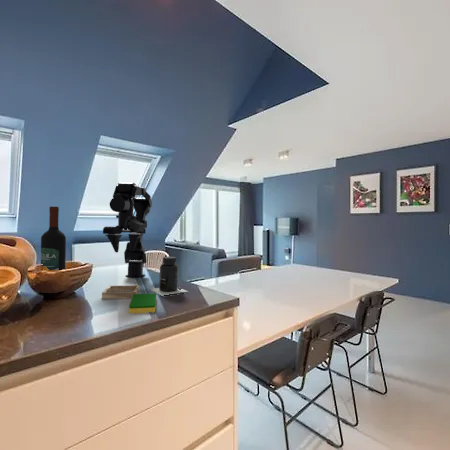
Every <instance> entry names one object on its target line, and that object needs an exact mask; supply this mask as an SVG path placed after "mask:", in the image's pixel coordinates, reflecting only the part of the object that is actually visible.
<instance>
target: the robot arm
mask: <svg viewBox="0 0 450 450" xmlns="http://www.w3.org/2000/svg"><path fill="white" fill-rule="evenodd" d="M137 196H143V197H137ZM152 205H153V200H152V197H151V195H150V194H149V193H148V192H147V191H146V188H145V187H144V186H138V185H137V184H136V183H134V182H123V181H122V182H121V181H120V182H118V183H117V185H116V186H115V189H114V192H113V194H112V198H111V199H110V202H109V208H110V209H111V210H112V211H113V212H116V213H117V215H115V218H116V219H118V221H117V225H115V226H104V227H103V229H102V234H104V235H105V237H107V238H108V239H107V240H109V243H110V244H111V246H112V248H113V251H114V253H118V252H119V249H120V239H121V237H122V236H123V233H128V240H129V242H127V243H126V247H125V250H124V252H123V255H124V256H123V257H124V264H128V265H127V274H126V275H125V277H128V278H141V277H145V276H146V274H144V271H143V270H144V264H147V261H148V260H147V255H146V252H145V246H144V245H143V242H142V241H143V236H144V234H146V229H147V228H148V221H147V220H146V217H147V215H148V214H149V213H150V212H151V208H152ZM134 211H135V215H134Z"/></svg>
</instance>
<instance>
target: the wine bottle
mask: <svg viewBox="0 0 450 450" xmlns="http://www.w3.org/2000/svg"><path fill="white" fill-rule="evenodd" d="M48 209H49V210H48V211H49V224H48V225H49V227H48V230H46V231H45V232H44V233H43V234H42V235H41V238H40V265H41V264H43V265H44V266H46V267H47V268H48V269H49V270H62V269H65V270H66V255H67V254H66V253H67V250H66V248H67V246H66V245H67V243H66V242H67V240H66V239H67V237H66V235H65V233H64V232H62V231H61V230H60V228H59V211H60V207H59V206H49V208H48Z"/></svg>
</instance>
